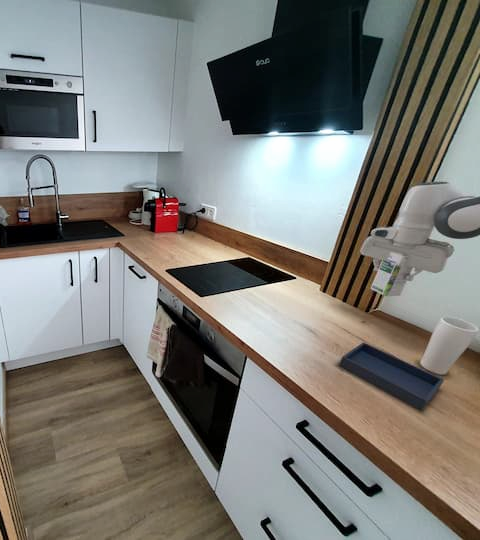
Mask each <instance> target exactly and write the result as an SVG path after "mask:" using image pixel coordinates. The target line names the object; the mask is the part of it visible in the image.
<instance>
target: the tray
mask: <svg viewBox="0 0 480 540" xmlns="http://www.w3.org/2000/svg"><path fill="white" fill-rule="evenodd" d="M338 366H339V367H341V368H343V369H344V370H346V371H348V372H350V373H352V374H353V375H355V376H357V377H358V378H361V379H363V380H364V381H366V382H368V383H369V384H371V385H373V386H374V387H377V388H379V389H381V390H382V391H385V392H386V393H388V394H390V395H392V396H394V397H395V398H397V399H398V400H401V401H403V402H404V403H406V404H408V405H410V406H412V407H413V408H415V409H416V410H419V411H421V412H422V411H423V410H424V408H425V407H426V406H427V404H428V403H429V402H430V401H431V399H432V398H433V397H434V396H435V394H436V393H437V392H438V391H439V389H440V387H441V386H442V385H443V383H444V381H445V379H444V378H443V377H440V376H437V375H435V374H434V373H432V372H430V371H428V370H426V369H425V370H424V369H423V368H420V367H418V366H416V365H413V364H411V363H410V362H408V361H406V360H403V359H401V358H399V357H396V356H395V355H392V354H390V353H388V352H386V351H384V350H382V349H379V348H377V347H375V346H373V345H371V344H369V343H367V342H364V341H363V342H361V343H359V345H357V346H355V347H354V348H353V349H352V350H350V351H348V352H347V353H345V354H344V355H343V356H342V357H341V359H340V362H339V364H338Z"/></svg>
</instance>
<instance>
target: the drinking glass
mask: <svg viewBox="0 0 480 540" xmlns="http://www.w3.org/2000/svg"><path fill="white" fill-rule="evenodd" d="M478 332H479V328H478V327H477V326H476V325H474V324H473V323H471V322H470V321H469V322H468V321H466V320H463V319H460V318H457V317H453V316H442V317H440V319H439V320H438V321H437V324H436V326H435V327H434V329H433V331H432V333H431V336H430V337H429V341H428V344H427V346H426V348H425V351H424V353H423V355H422V358H421V359H420V366H421V367H422V368H423V369H425V370H426V371H427V372H429V373H432V374H437V375H446V374H448V372H449V371H450V369H451V368H452V366H453V365H454V364H455V363H456V362H457V361H458V360H459V358H460V357H461V355H463V354H464V352H465V351H466V349H467V348H468V347H470V346H471V343H472V342H473V340H474V339H475V337H476V336H477V334H478Z"/></svg>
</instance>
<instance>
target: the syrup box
mask: <svg viewBox="0 0 480 540" xmlns="http://www.w3.org/2000/svg"><path fill="white" fill-rule="evenodd" d="M408 256H409V255H405V254H400V253H395V252H391V253H390V255H389V257H388V259H387V260H381V261H380V264H379V266H380V267H379V270H378V272H376V274H375V277H374V280H373V281H372V284H371V286H370V290H371V291H374V292H376V293H378V294H380V295H382V296H384V297H398V296H401V294H402V292H403V290H404V288H405V286H406V283H407V281H408V280H405V278H406V276H407V275H408V274H411V273H412V271H413V269H414V268H412V267H408V266H405V263H406V261H407V259H408Z"/></svg>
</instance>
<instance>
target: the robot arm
mask: <svg viewBox="0 0 480 540" xmlns="http://www.w3.org/2000/svg"><path fill="white" fill-rule="evenodd" d="M434 229H435V230H436V232H438V233H439V234H441V235H442V236H444V237H446V238H450V239H455V240H467V239H473V238H476V237H479V236H480V196H476V195H472V194H469V193H467V192H465V191H462V190H460V189H458V188H457V187H455V186H453V185H452V184H451V183H450V182H447V181H427V182H426V181H425V182H421V183H417V184H415V185H414V186H412V187H410V189H409V190H408V191H407V193H406V195H405V197H404V199H403V201H402V203H401V206H400V208H399V215H398V217H397V219H395V221H394V222H393V225H392V226H381V227H376V228H374V229H372V230H371V232H370V236H368V237H367V238H366V239H365V240H364V242H363V244H362V246H361V248H360V250H359V252H360V254H361V255H362V256H365V257H369V258H372V263H373V266H374V268H373V272H376V273H377V272H378V270H379V267H380V263H379V262H381V261H382V260H387V259H388V257H389V255H390V253H391V252H395V253H400V254H405V255H409V256H408V259H407V261H406V263H405V266H408V267H412V268H413V269H414V270H413V272H414V273H412V274H411V273H410V274H408V275H407V276H406V278H405V280H407V281H408V282H412V281H413V280H414V278H415V276H417V275H419V274H420V273H422V272H423V271H425V272H429V273H433V274H438V273H441V272H443V271H444V269H445V267H446V264H447V262H448V259H449V258H450V257H452V255H453V254H454V252H455V247H454V245H452V244H451V243H449V242H447V241H440V240H437V239H431V238H430V237H431V234H432V232H433V231H434Z"/></svg>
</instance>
